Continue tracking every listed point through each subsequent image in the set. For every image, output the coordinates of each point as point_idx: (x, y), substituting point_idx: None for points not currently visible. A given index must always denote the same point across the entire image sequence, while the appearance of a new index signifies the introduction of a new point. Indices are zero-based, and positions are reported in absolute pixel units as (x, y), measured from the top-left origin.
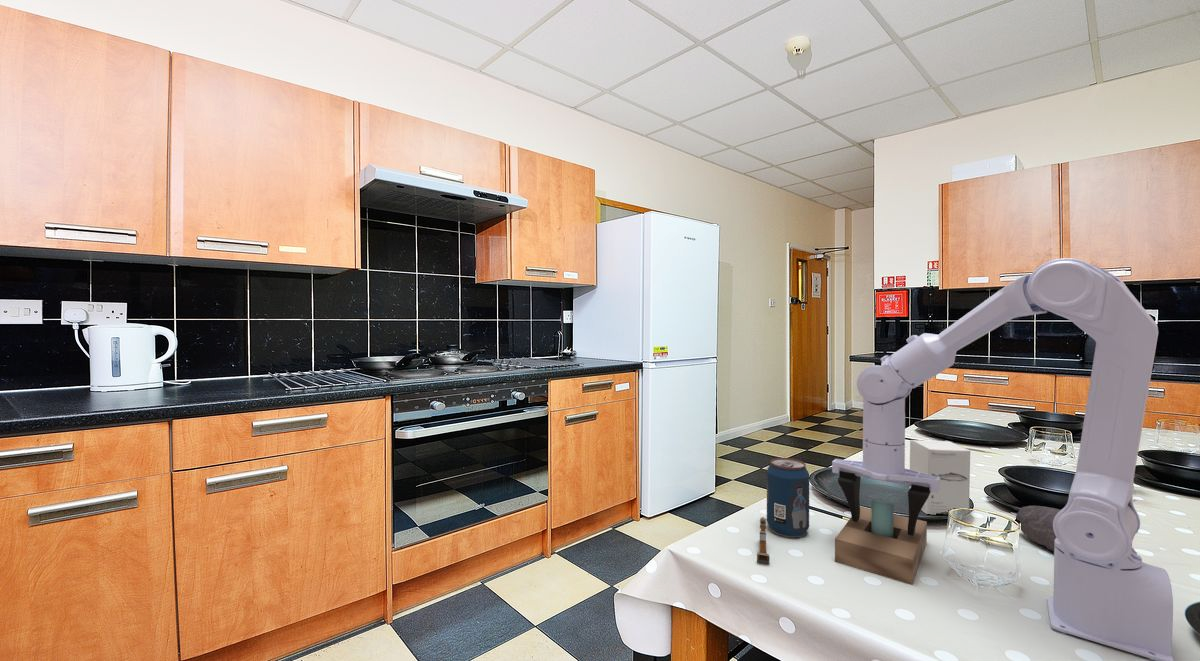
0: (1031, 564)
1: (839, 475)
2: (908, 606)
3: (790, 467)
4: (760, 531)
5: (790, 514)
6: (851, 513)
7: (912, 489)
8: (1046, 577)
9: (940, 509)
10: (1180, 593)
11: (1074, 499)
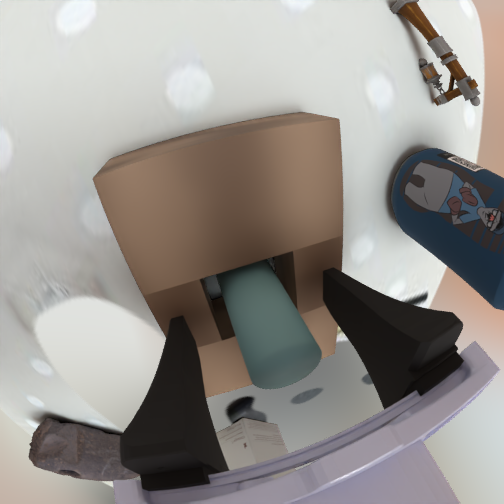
0: (78, 396)
1: (456, 349)
2: (77, 49)
3: None
4: (456, 56)
5: (451, 169)
6: (349, 276)
7: (194, 466)
8: (46, 378)
9: (231, 432)
10: (8, 413)
11: None
